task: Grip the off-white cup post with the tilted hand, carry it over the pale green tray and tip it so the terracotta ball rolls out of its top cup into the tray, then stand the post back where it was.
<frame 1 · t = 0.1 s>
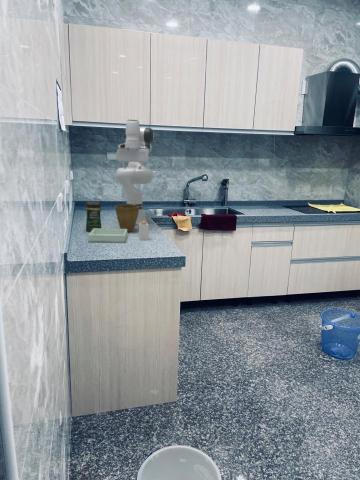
hand: (132, 169, 222), 39 cm above the worktop, tool pointing down, fingers open, 8 cm apart
tray: (108, 238, 206), on the worktop
ball: (143, 223, 207), point 9 cm above the worktop, touching cup post
plant pot: (127, 231, 228), on the worktop
coffee jar: (93, 230, 226), on the worktop
cup post: (143, 238, 209), on the worktop, touching ball
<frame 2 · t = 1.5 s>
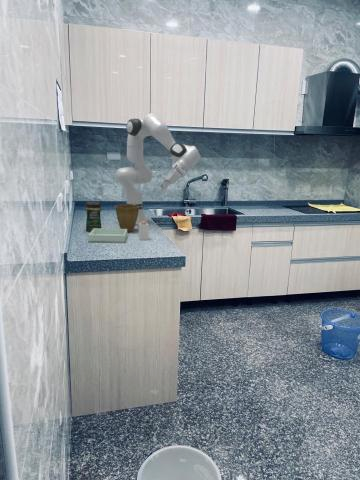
hand: (162, 187, 205), 30 cm above the worktop, tool tilted 45°, fingers open, 8 cm apart
nothing on the worktop moved.
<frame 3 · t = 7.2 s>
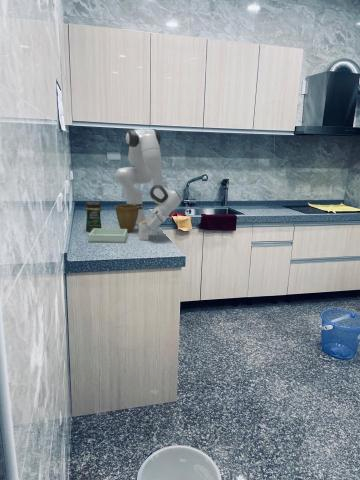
hand: (142, 230, 207), 5 cm above the worktop, tool tilted 45°, fingers closed on cup post, 5 cm apart
ball: (143, 223, 206), point 9 cm above the worktop, tilted 15°, touching cup post
cup post: (143, 238, 209), on the worktop, touching ball, gripper
everything else where it was.
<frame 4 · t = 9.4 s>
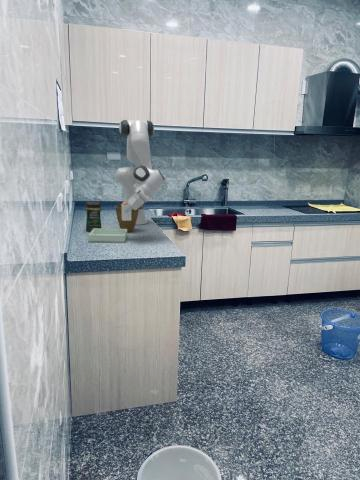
hand: (125, 211, 203), 16 cm above the worktop, tool tilted 45°, fingers closed on cup post, 5 cm apart
ball: (125, 203, 202), point 21 cm above the worktop, tilted 32°, touching cup post
cup post: (126, 219, 205), point 11 cm above the worktop, touching ball, gripper
everything else where it was.
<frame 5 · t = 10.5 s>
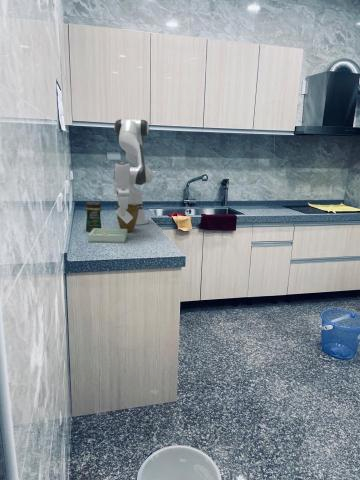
hand: (122, 215, 204), 14 cm above the worktop, tool pointing down, fingers closed on cup post, 5 cm apart
ball: (104, 235, 204), point 2 cm above the worktop, tilted 54°, touching tray
cup post: (129, 220, 205), point 11 cm above the worktop, tilted 45°, touching gripper
everything else where it was.
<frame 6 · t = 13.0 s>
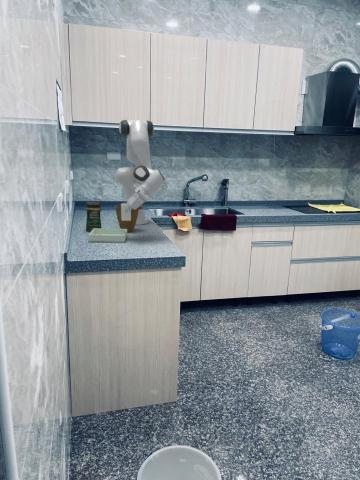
hand: (124, 211, 203), 16 cm above the worktop, tool tilted 45°, fingers closed on cup post, 5 cm apart
ball: (99, 236, 202), point 2 cm above the worktop, tilted 135°, touching tray
cup post: (126, 219, 205), point 11 cm above the worktop, touching gripper
everything else where it was.
when the fingers open (6 cm above the worktop, at t = 16.8 s): cup post stays where it is, on the worktop.
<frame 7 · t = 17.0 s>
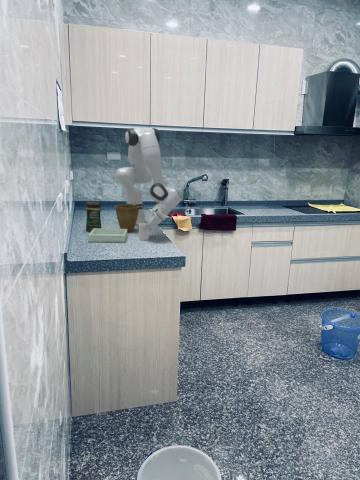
hand: (142, 228, 207), 6 cm above the worktop, tool tilted 45°, fingers open, 7 cm apart
ball: (107, 237, 200), point 2 cm above the worktop, tilted 65°, touching tray
cup post: (143, 238, 209), on the worktop
everything else where it was.
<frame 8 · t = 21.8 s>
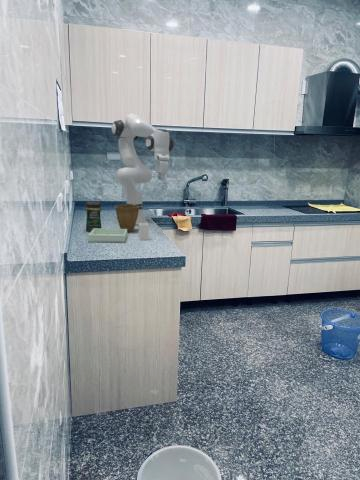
hand: (161, 180, 216), 33 cm above the worktop, tool pointing down, fingers open, 8 cm apart
ball: (107, 236, 201), point 2 cm above the worktop, tilted 56°, touching tray
everything else where it was.
at the end: ball inside the target area on the tray (5.3 cm from its centre), point 2.3 cm above the tray's base; cup post tilted 0°; the gripper is holding nothing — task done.
